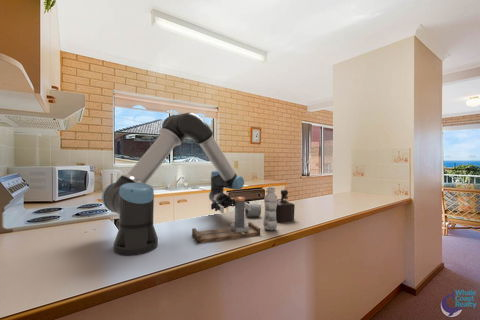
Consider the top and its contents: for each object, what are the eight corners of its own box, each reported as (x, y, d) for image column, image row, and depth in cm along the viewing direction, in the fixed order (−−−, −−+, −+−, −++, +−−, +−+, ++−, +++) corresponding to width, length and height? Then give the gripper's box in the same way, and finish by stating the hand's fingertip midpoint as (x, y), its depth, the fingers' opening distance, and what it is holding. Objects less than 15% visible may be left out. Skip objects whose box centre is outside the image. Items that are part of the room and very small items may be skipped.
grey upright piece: (236, 233, 98) (236, 199, 98) (230, 228, 105) (230, 196, 104) (248, 231, 101) (249, 198, 100) (242, 226, 107) (242, 195, 107)
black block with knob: (267, 217, 130) (268, 186, 130) (284, 216, 134) (284, 185, 134) (282, 225, 116) (283, 190, 115) (300, 223, 120) (301, 189, 119)
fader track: (197, 243, 90) (197, 236, 90) (192, 235, 99) (192, 228, 99) (260, 235, 101) (260, 228, 101) (250, 228, 110) (250, 222, 110)
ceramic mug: (261, 217, 130) (261, 204, 130) (247, 218, 128) (247, 204, 128) (256, 213, 140) (256, 201, 140) (243, 213, 138) (243, 201, 138)
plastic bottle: (272, 227, 113) (273, 186, 113) (279, 231, 107) (280, 188, 107) (260, 228, 111) (261, 187, 111) (267, 232, 105) (268, 189, 104)
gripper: (242, 205, 131) (260, 214, 112) (199, 208, 121) (210, 219, 102) (243, 192, 131) (260, 199, 111) (200, 194, 121) (211, 202, 102)
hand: (236, 208), depth 107 cm, fingers open, 13 cm apart
